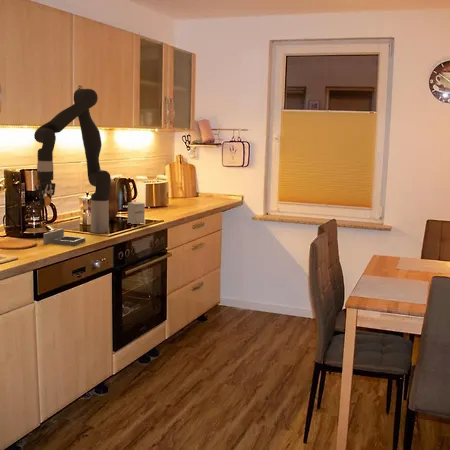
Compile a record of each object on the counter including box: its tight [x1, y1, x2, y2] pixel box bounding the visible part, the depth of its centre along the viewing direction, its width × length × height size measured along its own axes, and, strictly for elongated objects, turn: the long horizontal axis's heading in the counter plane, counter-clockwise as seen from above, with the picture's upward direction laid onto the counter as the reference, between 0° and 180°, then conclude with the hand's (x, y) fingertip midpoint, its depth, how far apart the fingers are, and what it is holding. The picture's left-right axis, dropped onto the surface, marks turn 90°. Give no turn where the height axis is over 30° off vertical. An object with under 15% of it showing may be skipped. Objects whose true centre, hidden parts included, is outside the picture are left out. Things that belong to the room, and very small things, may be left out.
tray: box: [52, 235, 86, 247], centre depth 290 cm, size 11×11×2 cm
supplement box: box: [127, 201, 146, 225], centre depth 350 cm, size 7×7×13 cm
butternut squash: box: [108, 178, 119, 221], centre depth 357 cm, size 14×13×25 cm
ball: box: [44, 195, 52, 207], centre depth 293 cm, size 5×5×5 cm
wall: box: [42, 228, 65, 245], centre depth 292 cm, size 16×1×5 cm, turn 164°
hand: (45, 204), depth 293 cm, fingers closed on ball, 5 cm apart
